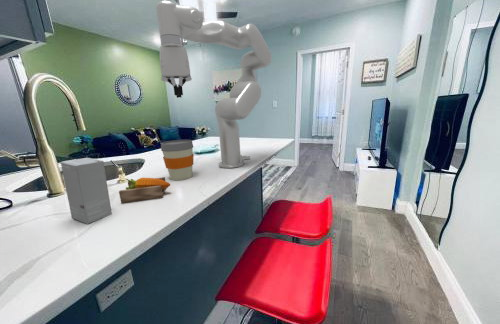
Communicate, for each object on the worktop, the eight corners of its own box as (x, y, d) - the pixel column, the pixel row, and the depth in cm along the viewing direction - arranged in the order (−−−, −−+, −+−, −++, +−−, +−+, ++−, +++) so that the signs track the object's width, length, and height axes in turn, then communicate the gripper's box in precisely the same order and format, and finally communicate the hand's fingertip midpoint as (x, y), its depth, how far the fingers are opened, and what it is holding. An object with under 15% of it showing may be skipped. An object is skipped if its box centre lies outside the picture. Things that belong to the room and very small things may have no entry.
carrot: (173, 177, 72) (132, 178, 73) (167, 176, 67) (123, 177, 68) (173, 192, 72) (131, 192, 73) (166, 192, 67) (121, 192, 68)
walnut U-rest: (166, 187, 76) (164, 177, 75) (162, 197, 67) (160, 186, 66) (130, 192, 73) (128, 181, 72) (121, 203, 64) (118, 191, 63)
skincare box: (71, 218, 56) (54, 162, 52) (99, 207, 62) (87, 156, 58) (87, 225, 52) (71, 165, 48) (116, 212, 58) (103, 158, 54)
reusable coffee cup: (166, 174, 92) (161, 141, 88) (195, 171, 96) (192, 138, 92) (164, 183, 80) (158, 145, 77) (197, 179, 84) (193, 142, 80)
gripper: (193, 47, 79) (199, 97, 84) (151, 46, 76) (159, 98, 80) (193, 41, 72) (199, 96, 77) (147, 39, 69) (156, 97, 73)
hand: (179, 97), depth 79 cm, fingers closed
